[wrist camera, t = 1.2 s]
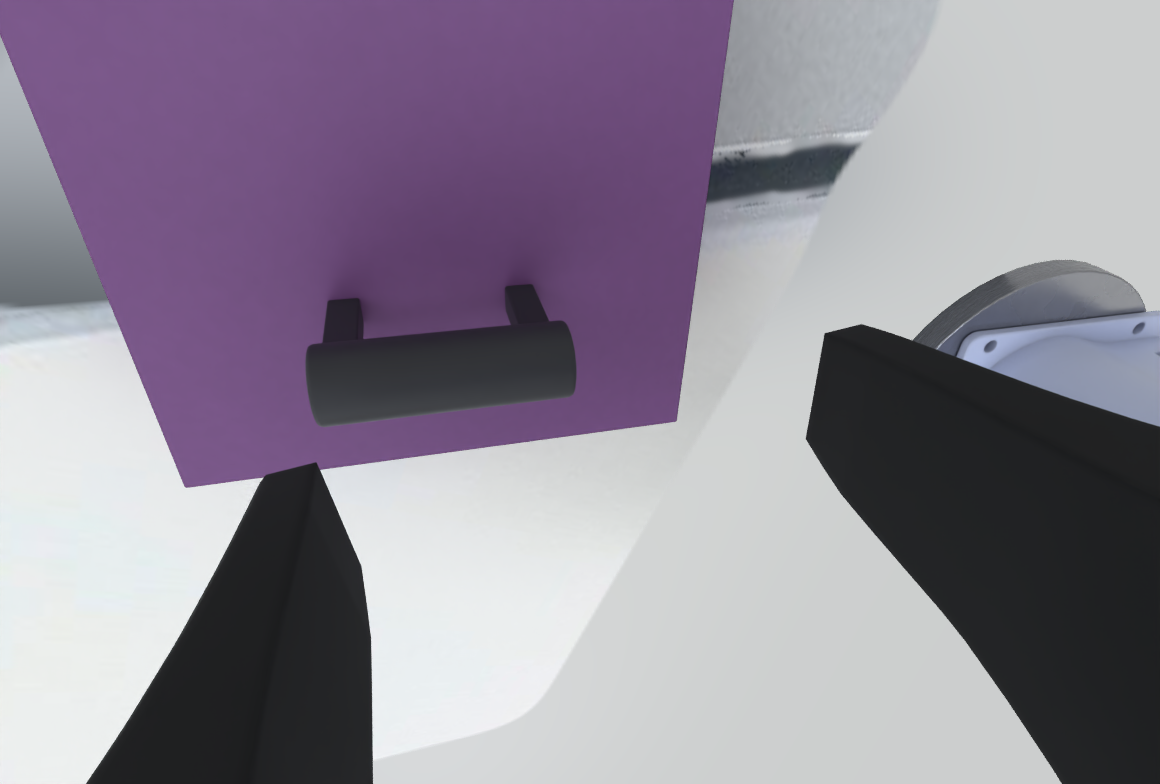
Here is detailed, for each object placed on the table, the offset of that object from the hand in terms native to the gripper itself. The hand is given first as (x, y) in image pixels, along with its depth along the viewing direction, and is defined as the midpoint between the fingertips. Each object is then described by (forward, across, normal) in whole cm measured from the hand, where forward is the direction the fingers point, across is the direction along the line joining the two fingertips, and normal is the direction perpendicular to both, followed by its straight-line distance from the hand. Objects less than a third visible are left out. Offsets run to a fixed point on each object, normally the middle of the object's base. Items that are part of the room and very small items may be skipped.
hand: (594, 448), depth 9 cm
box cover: (+8, +1, -1) cm, 8 cm away
